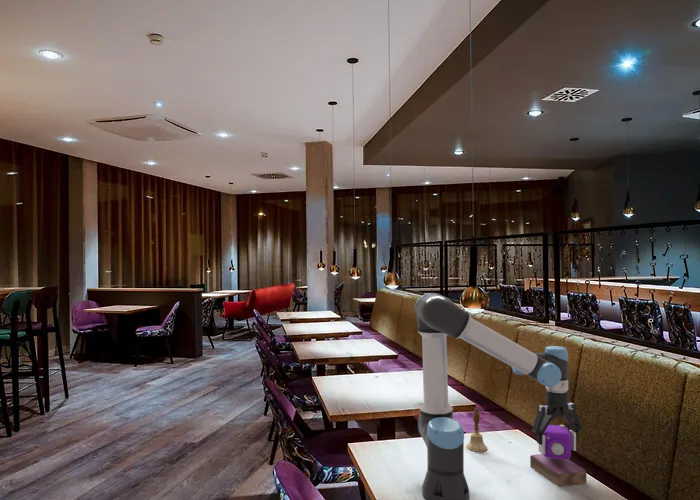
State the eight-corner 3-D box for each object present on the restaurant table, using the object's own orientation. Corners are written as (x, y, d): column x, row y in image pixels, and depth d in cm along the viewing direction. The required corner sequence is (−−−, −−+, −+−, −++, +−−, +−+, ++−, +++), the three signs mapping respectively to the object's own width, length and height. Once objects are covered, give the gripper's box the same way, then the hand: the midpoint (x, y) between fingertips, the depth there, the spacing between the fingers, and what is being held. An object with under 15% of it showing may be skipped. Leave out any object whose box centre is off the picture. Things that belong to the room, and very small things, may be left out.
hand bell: (462, 446, 200) (461, 407, 200) (477, 442, 204) (477, 404, 204) (476, 453, 193) (476, 413, 193) (491, 449, 197) (491, 409, 197)
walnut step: (558, 486, 165) (558, 473, 165) (530, 466, 181) (530, 454, 181) (586, 483, 168) (586, 470, 168) (556, 463, 183) (556, 452, 183)
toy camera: (546, 464, 168) (546, 435, 168) (535, 448, 182) (535, 421, 182) (579, 465, 167) (578, 436, 167) (565, 449, 180) (565, 422, 180)
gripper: (533, 395, 168) (533, 458, 168) (593, 390, 174) (593, 451, 173) (520, 389, 175) (521, 450, 175) (578, 385, 181) (579, 444, 181)
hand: (557, 451), depth 174 cm, fingers closed on toy camera, 12 cm apart
